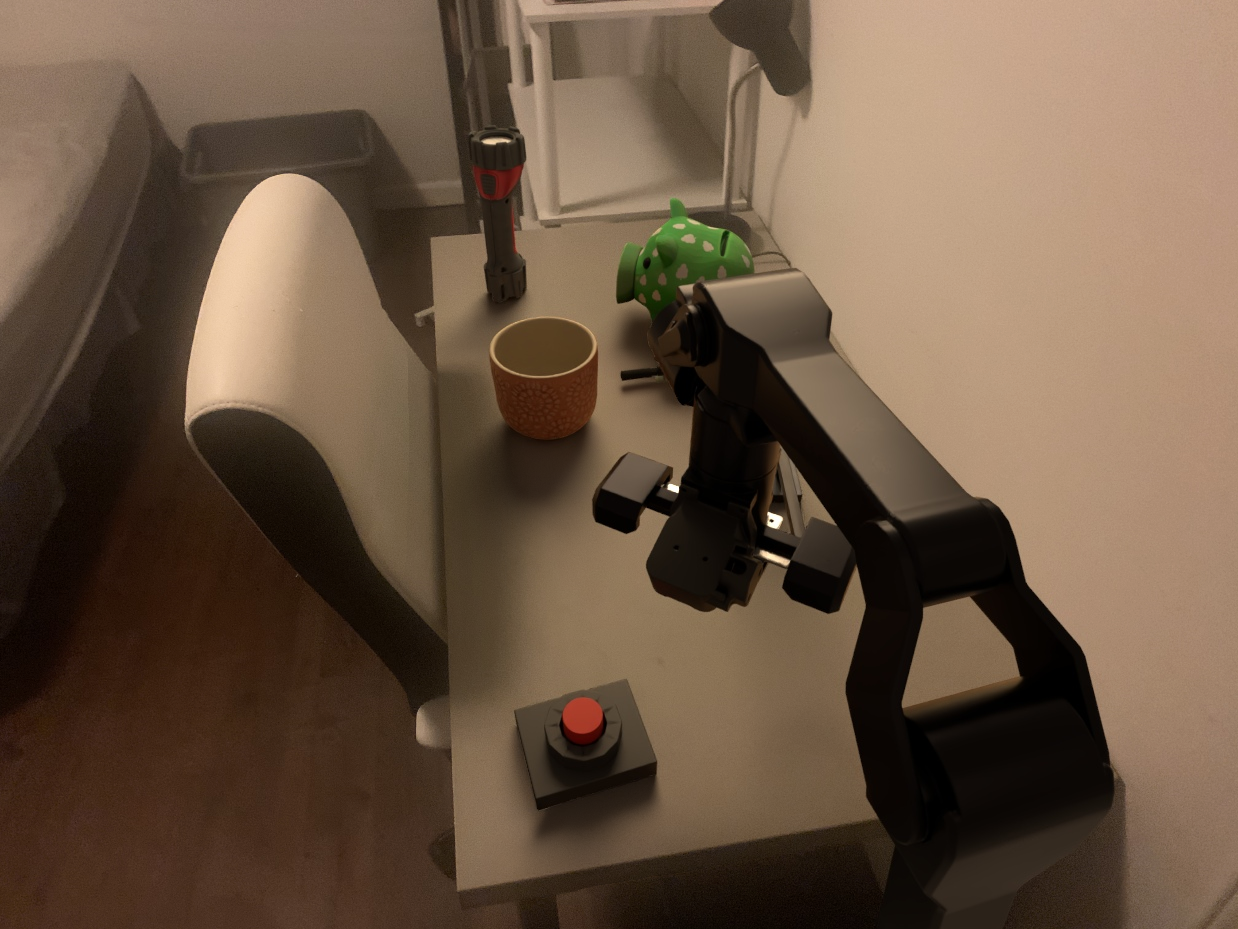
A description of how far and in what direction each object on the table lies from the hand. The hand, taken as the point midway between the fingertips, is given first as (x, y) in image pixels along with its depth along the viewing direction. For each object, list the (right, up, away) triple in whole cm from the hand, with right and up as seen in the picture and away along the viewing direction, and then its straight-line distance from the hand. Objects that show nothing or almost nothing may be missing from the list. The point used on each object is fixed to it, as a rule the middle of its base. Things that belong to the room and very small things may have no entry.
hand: (714, 598), depth 63 cm
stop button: (-10, -11, +2) cm, 15 cm away
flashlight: (-24, +37, +58) cm, 73 cm away
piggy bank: (+2, +31, +52) cm, 61 cm away
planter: (-16, +16, +36) cm, 42 cm away
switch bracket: (+8, +10, +29) cm, 32 cm away
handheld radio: (+5, +23, +43) cm, 49 cm away
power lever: (+9, +8, +15) cm, 19 cm away
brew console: (-10, -13, +4) cm, 17 cm away
